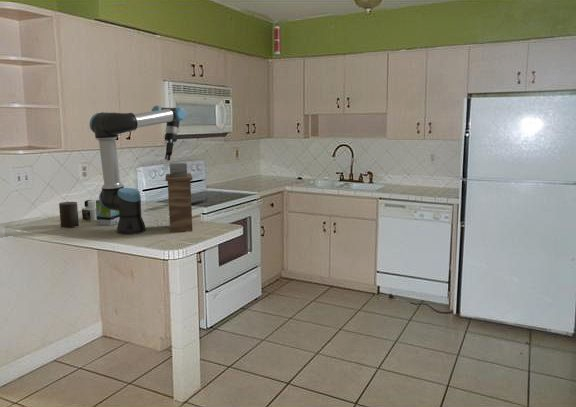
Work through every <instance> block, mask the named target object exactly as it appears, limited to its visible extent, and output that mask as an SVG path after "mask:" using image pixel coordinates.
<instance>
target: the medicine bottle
mask: <svg viewBox="0 0 576 407" xmlns="http://www.w3.org/2000/svg"><path fill="white" fill-rule="evenodd" d="M83 203H84V208H81V218H82V221H87V222H93V221H97V218H96V200H94V199H87V200H84V202H83Z"/></svg>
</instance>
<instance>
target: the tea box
mask: <svg viewBox="0 0 576 407" xmlns="http://www.w3.org/2000/svg"><path fill="white" fill-rule="evenodd" d="M95 207H96V218H97V220H96V225H98V226H107V227H111V226H113V225H116V224H118V222H119V211H117V210H110V209H107V208H105V207H103V206H102V205H101V203H100V201H99V199H97V200H95Z"/></svg>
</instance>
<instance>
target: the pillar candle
mask: <svg viewBox="0 0 576 407" xmlns="http://www.w3.org/2000/svg"><path fill="white" fill-rule="evenodd" d="M58 205H59V206H58V207H59V208H58V209H59V221H60V222H59V223H60V228H62V229H63V228H64V229H71V228H77V227H79V226H80V222H79V221H80V220H79V210H78V209H79V208H78V202H77V201H64V202H59V203H58Z"/></svg>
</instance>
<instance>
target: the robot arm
mask: <svg viewBox="0 0 576 407" xmlns="http://www.w3.org/2000/svg"><path fill="white" fill-rule="evenodd" d="M186 116H187V114H186V110H185V109H184V108H183V107H162V106H160V105H155V106H153V107H152V108H151V111H145V112H140V113H138V112H137V113H133V112H96V113H95V114H93V115H92V116H91V117H90V120H89V129H90V130H91V132H92V133H93V134H94V136H95V139H96V140H97V141H98V145H99V147H98V148H99V154H100V161H101V169H102V178H103V184H102V186H101V191H100V193H99V196H98V200H99V201H100V203H101V205H102V206H103V207H105V208H107V209H110V210H117V211H119V222H118V223H117V227H116V233H117V232H118V233H117V234H120V233H121V234H120V235H135V234H134V233H136V234H140V233H139V232H141V233H144V232H145V231H146V230H147V229H146V224H145V221H144V219H143V216H142V197H141V191H140V190H139V189H137V188H131V187H124V184H123V183H122V182H121V177H120V176H121V175H120V171H119V170H120V169H119V168H120V167H119V159H118V152H117V144H116V140H117V139H118V136H119V135H121V134H124V133H129V132H133V131H136V130H137V129H138V128H143V127H150V126H153V125H159V124H166V127H165V131H164V133H165V134H164V140H165V141H167V143H166V146H165V147H166V148H165V150H166V151H165V155H164V163H163V171H164V170H165V171H168V170H169V167H170V163H172V155H173V148H174V144H175V143H176V142H177V141H178V135H179V133H180V122H182V121H184V120H185V119H186ZM143 231H144V232H143Z"/></svg>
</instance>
